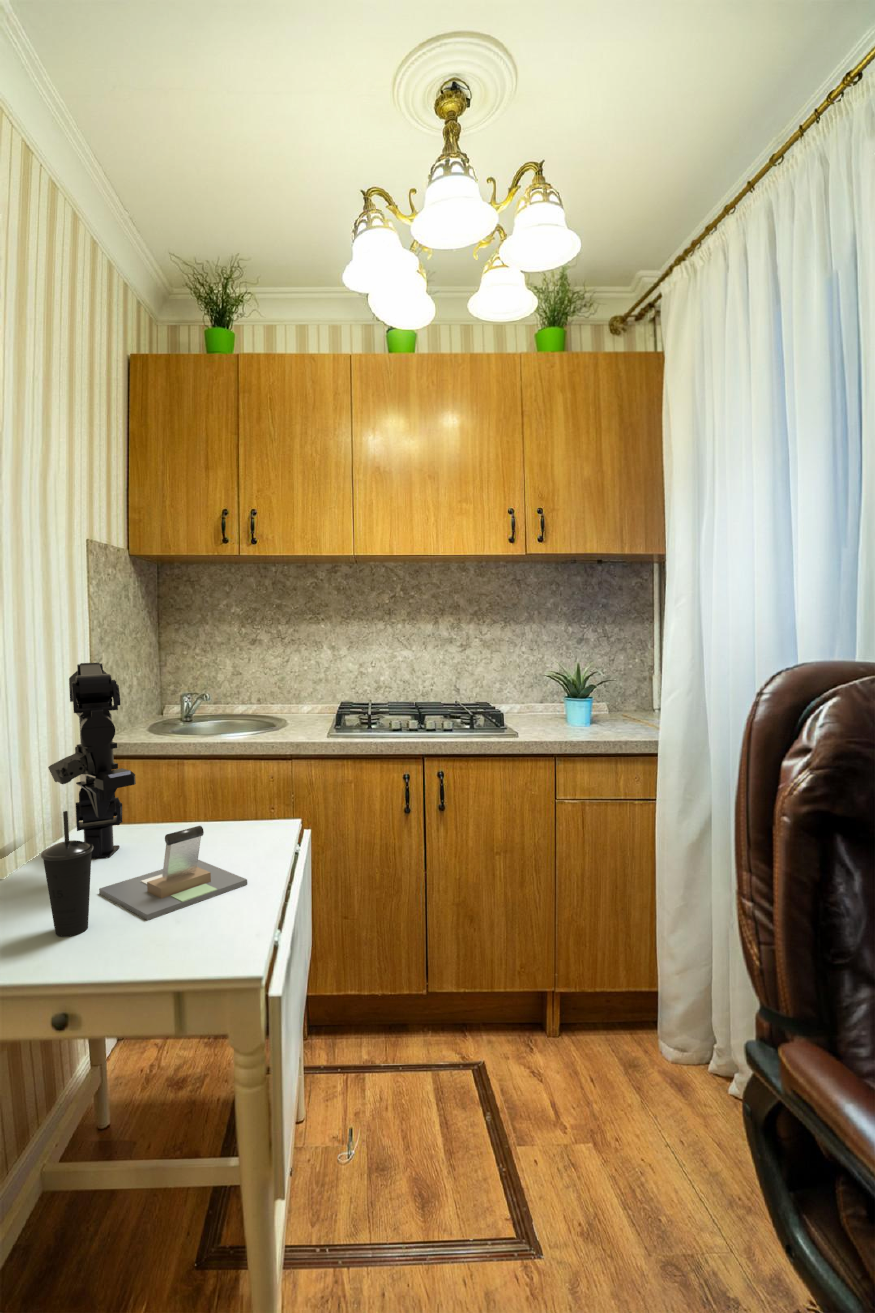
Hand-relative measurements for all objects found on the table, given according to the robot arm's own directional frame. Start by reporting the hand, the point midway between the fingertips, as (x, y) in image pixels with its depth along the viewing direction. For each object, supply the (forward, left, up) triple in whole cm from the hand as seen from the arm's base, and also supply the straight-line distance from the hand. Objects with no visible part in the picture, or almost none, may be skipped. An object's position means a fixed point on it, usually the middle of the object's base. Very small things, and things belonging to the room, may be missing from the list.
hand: (100, 817), depth 141 cm
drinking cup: (+24, +4, -12) cm, 27 cm away
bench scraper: (+9, +17, -9) cm, 22 cm away
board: (+8, +16, -12) cm, 22 cm away
